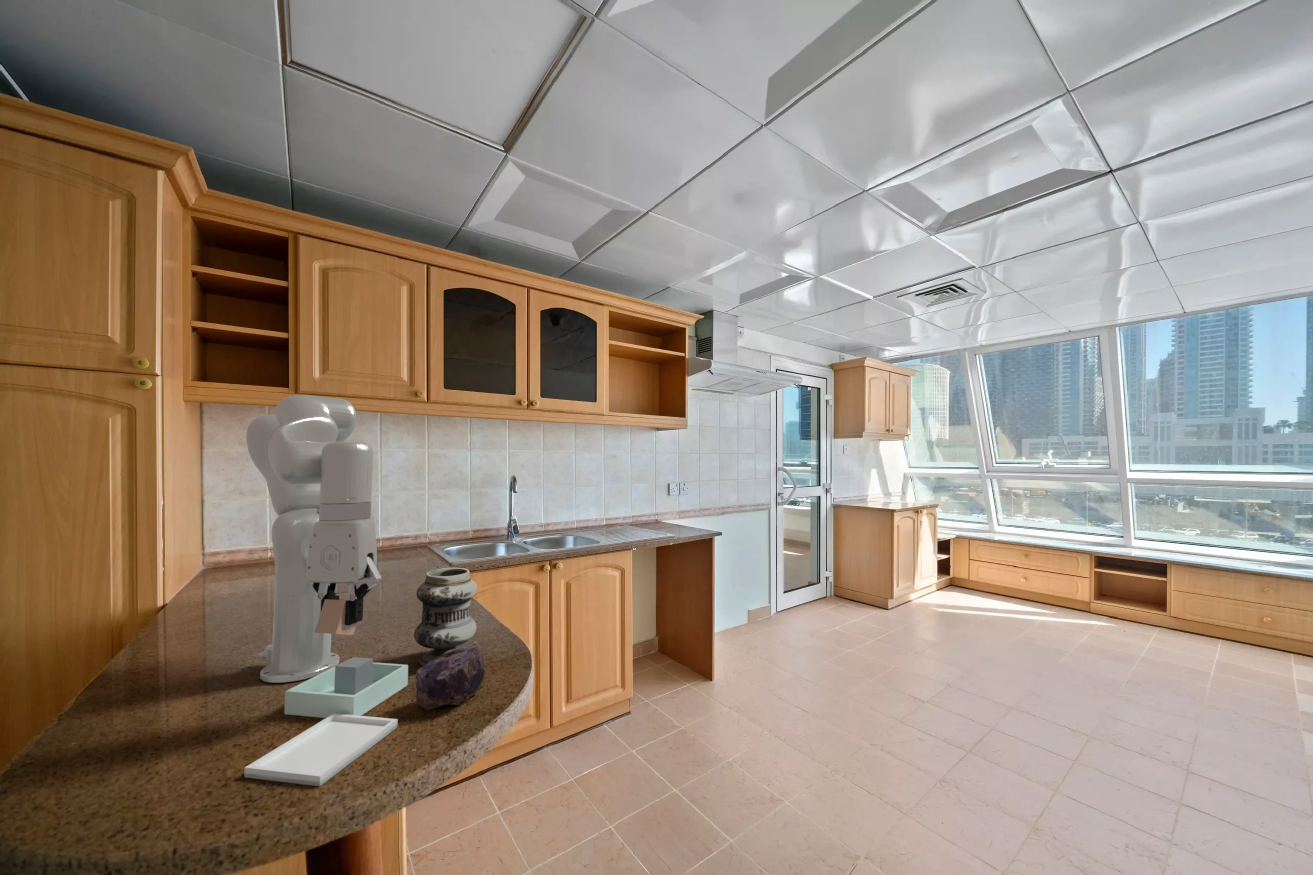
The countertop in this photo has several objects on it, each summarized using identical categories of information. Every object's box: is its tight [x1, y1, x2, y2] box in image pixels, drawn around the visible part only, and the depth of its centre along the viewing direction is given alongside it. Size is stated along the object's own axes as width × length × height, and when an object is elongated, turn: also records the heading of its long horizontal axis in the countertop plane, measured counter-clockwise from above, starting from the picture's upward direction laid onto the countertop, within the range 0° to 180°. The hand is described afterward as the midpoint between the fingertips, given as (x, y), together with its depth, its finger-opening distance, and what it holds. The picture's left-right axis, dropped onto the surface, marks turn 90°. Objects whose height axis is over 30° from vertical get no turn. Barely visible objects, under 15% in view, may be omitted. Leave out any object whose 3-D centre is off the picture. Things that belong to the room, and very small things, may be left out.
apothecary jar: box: [413, 567, 478, 667], centre depth 102 cm, size 12×12×18 cm
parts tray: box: [243, 713, 399, 787], centre depth 68 cm, size 11×14×1 cm
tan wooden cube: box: [314, 599, 358, 636], centre depth 81 cm, size 4×4×5 cm
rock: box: [415, 640, 486, 711], centre depth 83 cm, size 12×9×10 cm
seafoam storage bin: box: [283, 661, 409, 719], centre depth 83 cm, size 13×13×4 cm
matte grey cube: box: [334, 656, 374, 695], centre depth 84 cm, size 4×4×5 cm
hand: (341, 621), depth 82 cm, fingers closed on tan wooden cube, 4 cm apart
